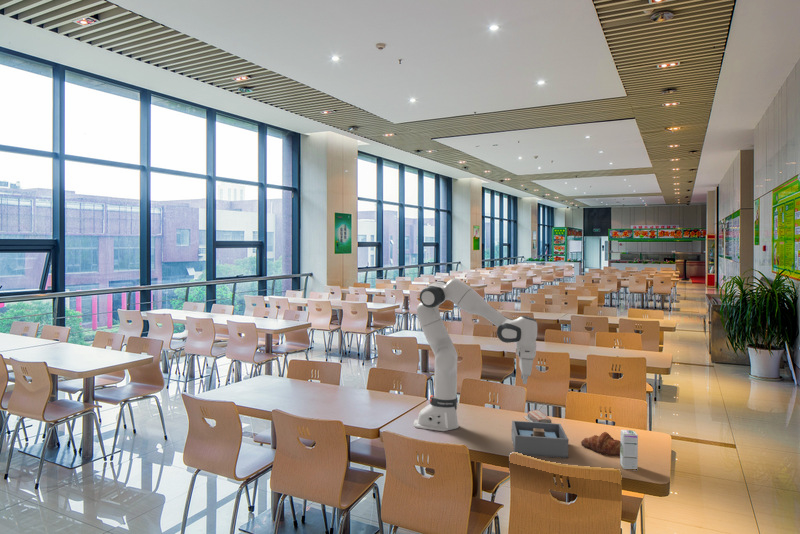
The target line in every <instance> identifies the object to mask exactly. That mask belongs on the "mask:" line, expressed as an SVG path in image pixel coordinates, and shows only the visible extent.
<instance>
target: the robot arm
mask: <svg viewBox="0 0 800 534" xmlns="http://www.w3.org/2000/svg"><path fill="white" fill-rule="evenodd" d="M419 301H420V302H419V303H418V304H417V306H416V310H415V311H416V314H417V318H418V322H419V325H420V328H421V330H422V332H423V334H424V336H425V339H426V342H427V343H428V345H429V347H430V349H431V350H432V353H433V356H434V388H433V389H434V393H433V394H434V395H433V394H432V395H430V396H429V404H428V405H425V407H423V408H422V409H421V410H420V411H419V412H418V417H417V418H415V419H414V421H413V427H414V428H417V429H422V430H423V429H424V430H431V431H439V432H448V431H451V430H456V429H458V428H459V427H460V425H459V421H458V412H457V409H458V397H457V392H458V387H457V386H458V359H459V358H458V357H459V355H458V352H457V350H456V347H455V345H454V343H453V341H452V339H451V337H450V335H449V332H448V331H447V327H446V324H445V323H444V320H443V318H442V316H441V313H440V309H439V308H440V306H441V305H443V304H444V303H445V302H446V301H450V302H452V303H453V304H455V305H456V306H457V307H458V309H460V310H461V311H464V312H465V313H467V314H470V315H476V316H479V317H480V316H481V317H483V318H484V319H486V320H488V322H490V323H492V324H493V325H494V326H495V327H496V336H497V337H498V339H499V341H501V342H503V343H507V344H508V343H516V350H515V355H516V356H518V359H519V362H518V363H519V364H518V366H519V369H520V379H521V380H522V384H523V385H527V384H528V378H529V377H530V376H531V374H532V369H533V364H534V363H533V362H534V360H535V357H536V355H537V342H536V341H537V338H538V322H537V320H536V319H535V318H533V317H531V316H527V315H520V316H519V317H518V318H515V319H512V318H508V317H507V316H505V315H503V314H502V313H501V312H499V311H498V310H496V309H495V308H494V307H493V306H491V305H490V304H489V303H488V302H487V301H486V300H485V298H483V297H482V295H480V294H479V293H478V292H477V291H476V290H475V289H474V288H472V287H471V286H470V285H469V284H467V283H465V282H463V281H462V280H460V279H458V278H455V277H454V278H451V279H449V280H448V281H444V280H437V281H433V282H431V283H429V284H428V285H427V286H425V287H423V288H422V289H421V291H420V294H419Z"/></svg>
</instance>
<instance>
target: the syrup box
mask: <svg viewBox="0 0 800 534" xmlns="http://www.w3.org/2000/svg"><path fill="white" fill-rule="evenodd" d="M619 441H620V456H619V466H621V468H622V469H623V470H626V469H637V470H638V466H639V464H638V463H639V460H638V457H639V456H638V455H639V449H638V448H639V434H637V432H636V431H635V430H631V429H620V440H619Z"/></svg>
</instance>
